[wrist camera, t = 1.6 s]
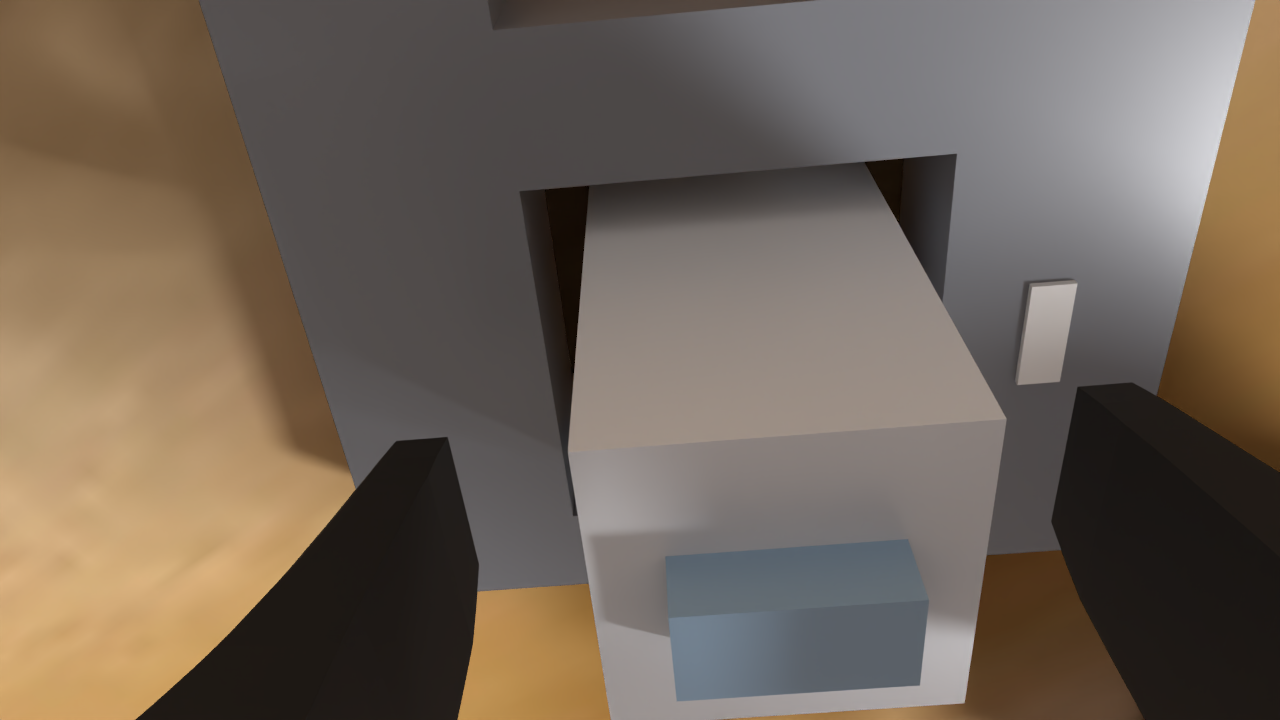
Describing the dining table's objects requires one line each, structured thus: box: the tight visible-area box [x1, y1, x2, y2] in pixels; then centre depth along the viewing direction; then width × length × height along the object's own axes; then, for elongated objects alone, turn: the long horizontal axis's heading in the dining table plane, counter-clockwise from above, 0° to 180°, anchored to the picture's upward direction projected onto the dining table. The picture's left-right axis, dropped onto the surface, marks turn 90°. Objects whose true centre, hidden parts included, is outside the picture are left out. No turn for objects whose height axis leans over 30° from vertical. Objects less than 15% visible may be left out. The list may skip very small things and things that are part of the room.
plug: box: [568, 162, 1007, 720], centre depth 13 cm, size 4×4×8 cm
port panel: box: [199, 0, 1255, 591], centre depth 13 cm, size 16×12×3 cm
